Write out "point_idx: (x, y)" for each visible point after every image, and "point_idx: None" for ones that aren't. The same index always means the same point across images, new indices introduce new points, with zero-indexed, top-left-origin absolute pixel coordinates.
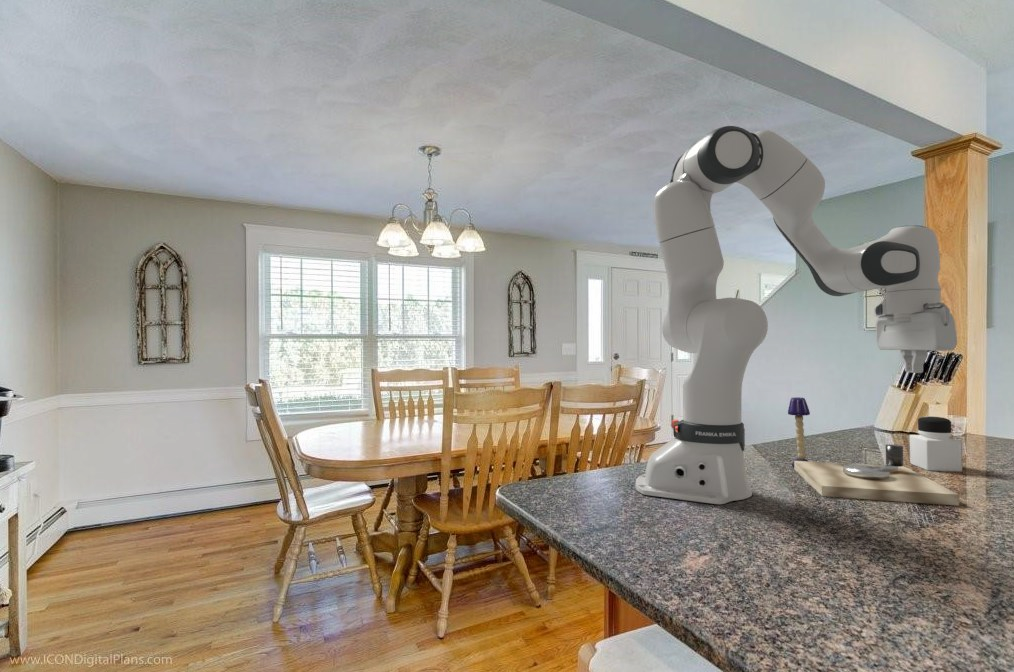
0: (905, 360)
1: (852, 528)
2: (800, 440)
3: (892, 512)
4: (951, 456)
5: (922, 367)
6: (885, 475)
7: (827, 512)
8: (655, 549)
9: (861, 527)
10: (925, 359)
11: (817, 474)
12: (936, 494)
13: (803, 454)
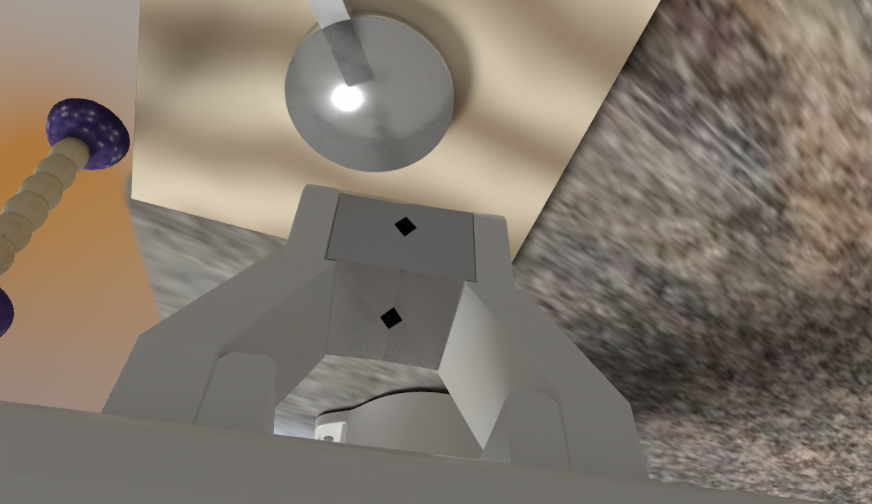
0: (286, 389)
1: (724, 338)
2: (48, 209)
3: (666, 197)
4: None
5: (508, 262)
6: (450, 74)
7: (619, 326)
8: None
9: (727, 321)
10: (582, 355)
11: None
12: (650, 15)
13: (79, 162)
